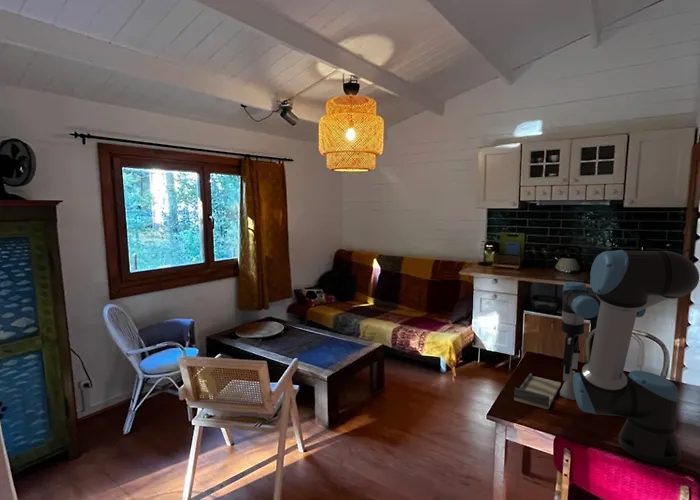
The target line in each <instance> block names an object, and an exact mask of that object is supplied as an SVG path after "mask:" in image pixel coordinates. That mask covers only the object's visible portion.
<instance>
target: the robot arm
mask: <svg viewBox="0 0 700 500" xmlns="http://www.w3.org/2000/svg"><path fill="white" fill-rule="evenodd" d="M590 268H591V269H590V272H589V273H590V275H589V276H590V278H589V281H590V288H591V290H592V291H593V293H595V294H593V293H592V294H591V293H587V285H586V284H585V283H584V282H581V281H580V282H579V281H567V282H564V284H563V288H562V308H561V309H562V310H561V320H562V321H561V331H562V332H563V333H565V334H566V336H565V339H564V340H565V343H564V352H563V361H562V362H561V363H560V364H561V365H563V371H562V372H563V374H562V381H563V382H565V381H567V382H571V379H572V371H573V369H574V370H578V366H579V365H578V361H579V354H581V350H580V341H579V339H580V338H579V336H580V335H583V334H584V332H585V324H584V323H585V319H592V318H595V317H597V318H596V319H597V320H596V324H595V325H596V326H595V332H594V336H593V341H592V347H591V351H590V357H589V361H588V362H587V363H585V364H584V365H583V367H581V372H575V374H574V375H573V388H574V393H575V398H576V400H575V401H576V404H577V406H578V408H579V409H580V410H581V411H582V412H584V413H587V414H594V415H604V416H616V417H625V418H626V421H625V422H624V424H623V426H622V427H621V430H620V432H619V434H618V445H619V446H620V448H622V450H623V451H624V452H626V453H628V454H629V455H630V456H632V457H634V458H636V459H638V460H640V459H641V460H640V461H643V460H644V461H643V462H646V463H650V464H653V465H658V466H668V467H669V466H675V465H678V464H679V463H680V462H681V460H682V450H681V448H680V447H681V446H680V443H679V441H678V437H677V435H676V426H677V425H676V423H677V412H678V411H677V410H678V402H679V398H678V397H679V396H678V387H677V385H676V384H674V382H673V381H672V380H669V379H668V378H665V377H664V376H661V375H658V374H657V373H652V372H648V371H645V370H638V369H636V370H635V369H634V370H631V371H630V372H629V373H628V376H626V374H625V373H624V370H625V367H626V366H625V365H626V361H627V357H628V352H629V349H630V348H629V347H630V345H631V340H632V335H633V330H634V327H635V323H636V319H637V318H641V317H642V318H643V317H644V316H645V314H646V312H647V309H648V308H650V307H652V306H655V305H656V304H659V303H662V302H664V301H665V300H668V299H670V300H676V299H680V298H682V297H685V296H687V295H689V294H691V293H692V292H693V291H694V290H695V289H696V288H697V287H698V284H699V282H700V274H699V273H700V272H699V270H698V268H697V266H696V265H695V263H694V262H693V261H692V260H691V259H690V258H688V257H686V256H685V255H683V254H680V253H677V252H674V251H668V250H624V249H618V250H607V251H603V252H601V253H599V254H597V256H596V257H595V259H594V261H593V263H592V264H591V267H590Z"/></svg>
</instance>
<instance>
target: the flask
mask: <svg viewBox="0 0 700 500" xmlns="http://www.w3.org/2000/svg"><path fill="white" fill-rule="evenodd" d="M575 373H576V371H574V370H572V379H571V382H567V381H563V384H562V385H561V389H559V396H561V397H562V398H564V399H566V400H570V401H571V400H572V401H576V398H575V393H574V388H573V375H574V374H575Z"/></svg>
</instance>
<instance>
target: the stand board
mask: <svg viewBox="0 0 700 500" xmlns="http://www.w3.org/2000/svg"><path fill="white" fill-rule="evenodd" d="M560 387H562V382H560V381H557V380H556V381H555V380H551V379H547V378H543V377H538V376H535V375H533V373H531V372H530V373H529V374H528V375H527V377H526V378H525V380H524V381H523V382H522V384H521V385H520V386H519V387H514V391H513V393H514V395H513V401H516V402H519V403H522V404H526V405H530V406H534V407H537V408H541V409H545V410H549V409H550V407H551V406H552V403H553V402H554V399H555V398H556V395H557V394H558V392H559V391H560Z"/></svg>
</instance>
